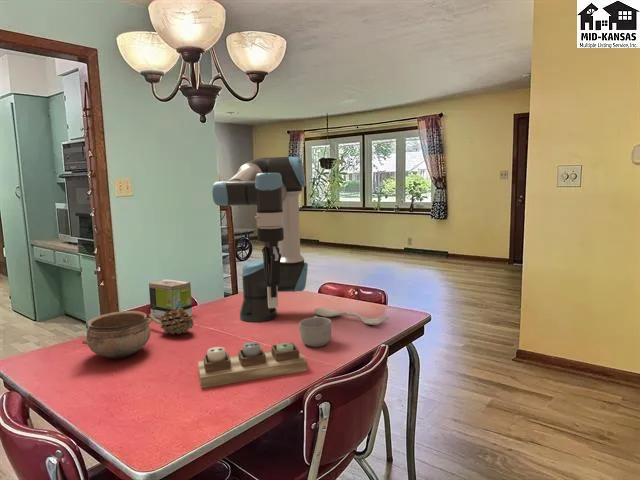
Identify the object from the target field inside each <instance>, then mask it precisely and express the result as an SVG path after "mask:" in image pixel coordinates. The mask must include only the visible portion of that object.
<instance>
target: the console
mask: <svg viewBox="0 0 640 480" xmlns="http://www.w3.org/2000/svg"><path fill="white" fill-rule="evenodd" d="M290 343H291V344H293V351H287V352H280V353H278V352H277V348H276V346H277V345H278V344H273V345H271V348H270V349H271V350H266V351H265V350H263V348H262V347H260V356H253V357H246V358H245V357H243V349H239V350H238V352H237V353H238V354H237V355H236V354H235V355H229V352H228V351H225V352H226V360H225V361H219V362H212V363H209V362H208V354H203V359H202V360H197V371H198V377H199V383H200V388H201V389H203V388H210V387H217V386H222V385H229V384H235V383H241V382H247V381H254V380H259V379H260V380H261V379H264V378H265V379H266V378H270V377H272V378H273V377H278V376H282V375H289V374H295V373H302V372H307V371H308V360H307V359H306V358H305V356H304V355H303V354H302V353H301V352H300V349H299V347H297V345H296V344H295V343H294V342H290Z"/></svg>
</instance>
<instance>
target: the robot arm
mask: <svg viewBox="0 0 640 480" xmlns="http://www.w3.org/2000/svg"><path fill="white" fill-rule="evenodd" d="M306 184H307V183H306V173H305V167H304V164H303V159H301V158H300V157H299V156H276V157H275V156H273V157H259V158H255V159H252V160H250V161H247V162H245V163H244V164H242V165H241V166H240V167H239V168H238V170H237V173H236V174H234V175H233V177H231V178H230V179H228V180H221V181H220V180H219V181H215V182H214V183H213V185H212V190H211V191H212V192H211V193H212V194H211V195H212V201H213V203H214V204H215V205H216V206H221V207H223V206H224V207H228V206H229V207H230V206H233V207H234V206H235V207H236V206H256V216H254V219H255V220H256V226H257V227H258V228H257V229H256V230H257V231H256V233H257V234H256V235H257V236H256V237H257V241H258V242H261V243H264V244H263V245H264V247H263V248H262V249H261V252H262V257H263V258H262V259H256V260H251V261H249V262H246V263H245V264H243V266H242V274H241V277H242V295H243V296H242V297H243V300H242V303H241V307H240V310H239V319H240V320H241V321H244V322H250V323H254V322H255V323H259V322H266V321H270V320H273V319H275V318H276V317H277V315H278V313H277V308H279V295H278V294H279V293H281V292H282V293H284V292H285V293H287V292H291V293H295V292H302V291H304V290H305V289H306V286H307V284H306V283H307V276H308V266H309V263H308V262H305V257H304V256H302V254H301V238H300V237H301V232H300V207H299V206H300V201H299V198H300V197H299V196H300V195H301V194H302V192H303V188H304V187H307V185H306Z"/></svg>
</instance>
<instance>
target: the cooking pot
mask: <svg viewBox="0 0 640 480" xmlns="http://www.w3.org/2000/svg"><path fill="white" fill-rule="evenodd" d="M151 322H152V320H151V319H150V318H149V317H148V314H147V313H146V312H142V311H137V310H125V311H115V312H110V313H106V314H102V315H99V316H95V317H93V318H91V319H90V320H88V322H87V325H88V330H87V334H86V340H82V342H81V343H82V344H83V345H87V347H88V348H89V349H90V351H92V353H94V354H96V355H99V356H102V357H105V358H108V359H112V360H121V359H125V358H129V357H130V356H132V355H134V354H135V353H136V352H138V351H139V350H141V349H142V348H143V347H145V345H146V344H147V343H148V342H149V340H150V337H151V334H152V331H151V327H150V323H151Z"/></svg>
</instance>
